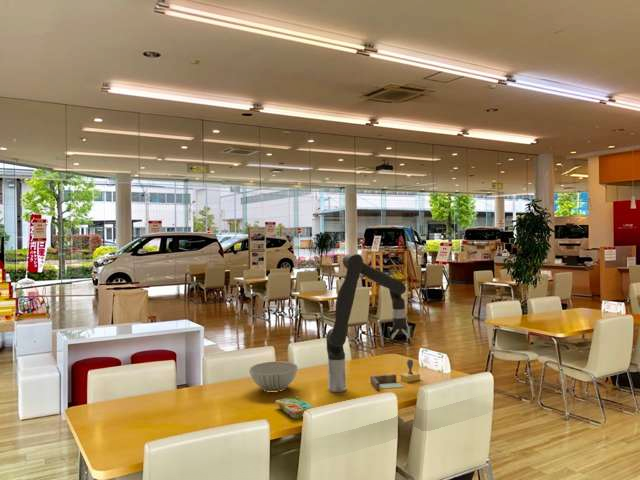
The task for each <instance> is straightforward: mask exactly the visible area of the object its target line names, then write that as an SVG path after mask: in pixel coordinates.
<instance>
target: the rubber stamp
mask: <svg viewBox="0 0 640 480" xmlns="http://www.w3.org/2000/svg"><path fill="white" fill-rule="evenodd" d="M406 365H407V368H408V370H409V371H408V372H404V373H401V374H400V381H402V382H404V383H407V384H408V383H410V382H412V383H413V382H415V381H416V380H417V381H421V373H419V372H417V371H414V370H413V371H412V369H413V366H414V361H413V360H412V359H411V358H410V359H407V362H406Z"/></svg>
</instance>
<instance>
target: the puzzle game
mask: <svg viewBox="0 0 640 480" xmlns="http://www.w3.org/2000/svg"><path fill="white" fill-rule="evenodd" d="M274 403H275V404H276V405H277V406H278V407H279V408H281V409H282V410H281V409H280V410H281V411H283V412H284V411H285V412H286V413H285V412H284V413H285V414H286V415H288V414H289V415H290V417H291V418H292V417H293V418H297V417H301V418H303V417H302V415H303V413H304V411H305V410H307V409H310V408H314V407H315V406H313V405H312V404H310V403H308V402H307V401H306V400H304V399H302V398H300V397H299V396H296V395H295V396H293V397H292V396H291V397H287V398H282V399H277V400H276V399H275V402H274ZM289 415H288V416H289ZM293 418H292V419H293ZM297 419H298V418H297Z"/></svg>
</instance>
